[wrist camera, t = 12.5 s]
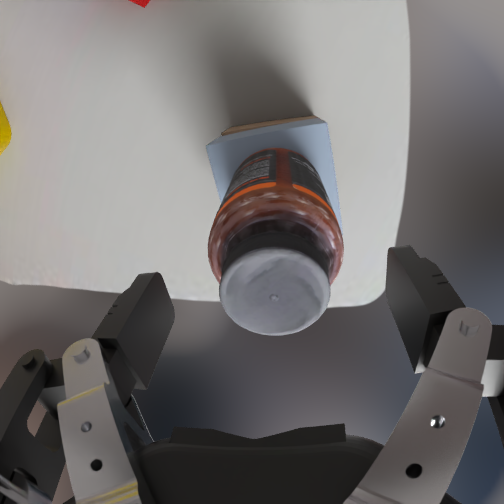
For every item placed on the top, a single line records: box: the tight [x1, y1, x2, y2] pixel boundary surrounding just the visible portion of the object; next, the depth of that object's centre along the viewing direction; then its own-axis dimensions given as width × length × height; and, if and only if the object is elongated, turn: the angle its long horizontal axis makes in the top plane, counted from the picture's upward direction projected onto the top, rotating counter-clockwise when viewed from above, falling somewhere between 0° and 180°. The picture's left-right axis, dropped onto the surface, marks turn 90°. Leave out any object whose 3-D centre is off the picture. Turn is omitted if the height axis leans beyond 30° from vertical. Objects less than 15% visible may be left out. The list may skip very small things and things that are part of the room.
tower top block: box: [206, 118, 343, 235], centre depth 23 cm, size 8×8×5 cm
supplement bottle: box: [208, 148, 344, 335], centre depth 16 cm, size 6×6×11 cm
